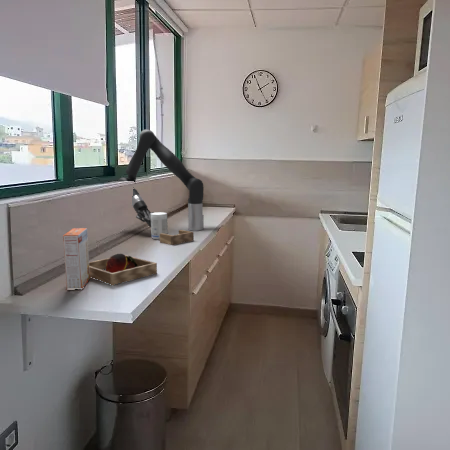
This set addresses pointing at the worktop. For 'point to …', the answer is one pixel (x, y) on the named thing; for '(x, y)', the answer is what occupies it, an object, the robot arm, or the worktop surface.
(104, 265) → the fruit corral
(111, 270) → the red oval lump
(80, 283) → the cracker box
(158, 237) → the supplement tub
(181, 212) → the worktop surface
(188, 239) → the cradle
